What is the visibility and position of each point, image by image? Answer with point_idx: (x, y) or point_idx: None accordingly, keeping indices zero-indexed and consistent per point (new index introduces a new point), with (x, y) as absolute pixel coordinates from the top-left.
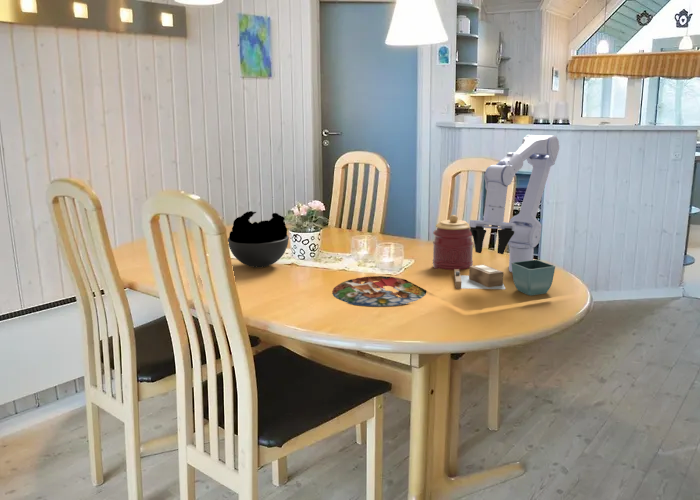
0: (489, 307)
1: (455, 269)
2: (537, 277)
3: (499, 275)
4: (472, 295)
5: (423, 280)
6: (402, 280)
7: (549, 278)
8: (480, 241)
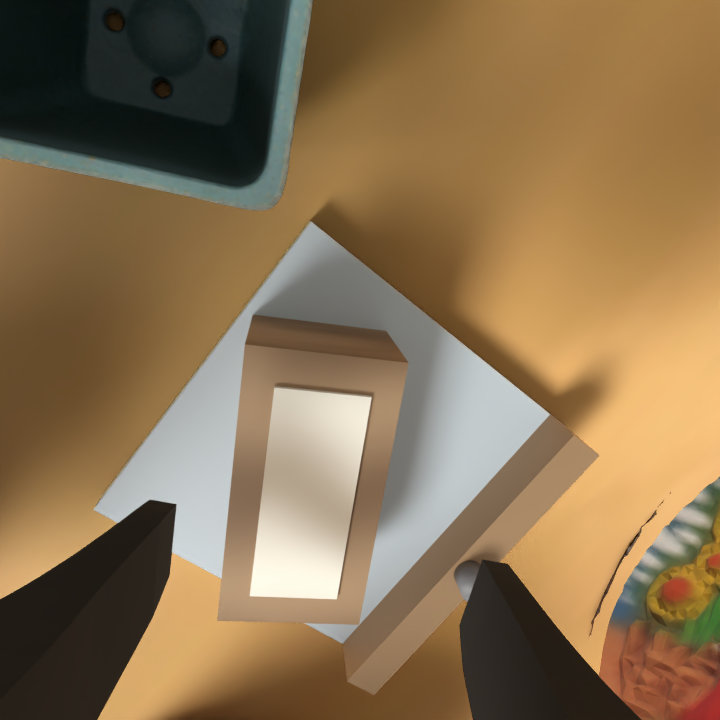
0: (676, 6)
1: (375, 683)
2: None
3: (289, 342)
4: (546, 301)
5: None
6: (652, 701)
7: None
8: (596, 680)
